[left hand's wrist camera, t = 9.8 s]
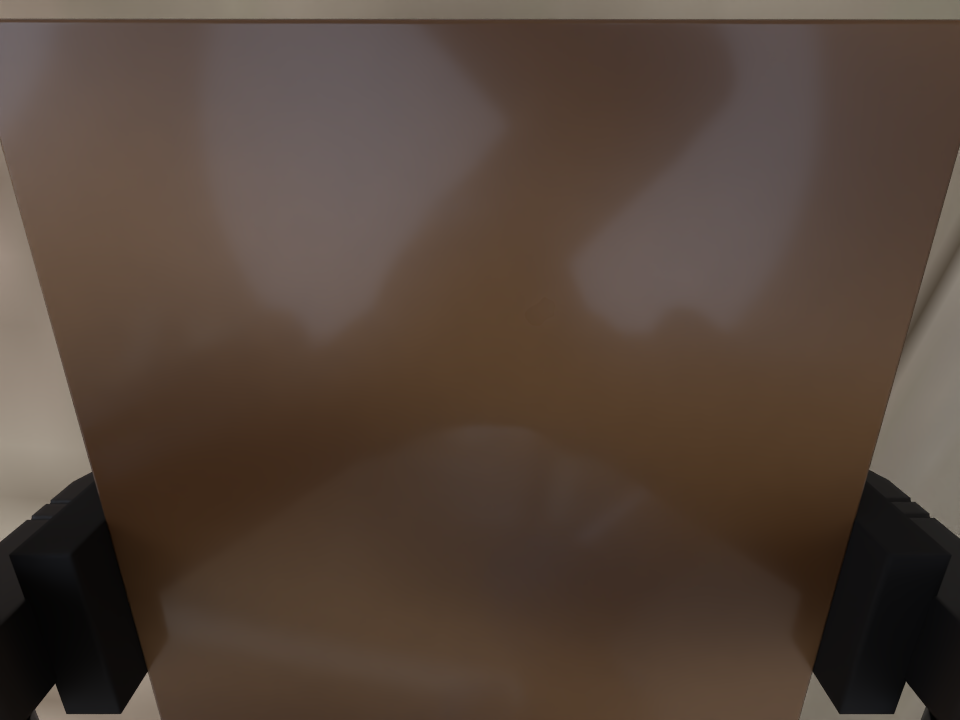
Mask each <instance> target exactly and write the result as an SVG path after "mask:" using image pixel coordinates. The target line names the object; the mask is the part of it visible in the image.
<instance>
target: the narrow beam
mask: <svg viewBox="0 0 960 720" xmlns="http://www.w3.org/2000/svg"><path fill="white" fill-rule="evenodd" d="M0 142H1V145H2V149H3V153H4V156H5V160H6V163H7V167H8V171H9V174H10V178H11V181H12V185H13V189H14V192H15V196H16V199H17V203H18V207H19V210H20V214H21V217H22V221H23V225H24V228H25V232H26V235H27V239H28V243H29V246H30V250H31V253H32V257H33V261H34V264H35V268H36V271H37V275H38V279H39V282H40V286H41V289H42V293H43V296H44V300H45V304H46V307H47V311H48V314H49V318H50V322H51V325H52V329H53V332H54V336H55V340H56V343H57V347H58V350H59V354H60V358H61V361H62V365H63V368H64V372H65V376H66V379H67V383H68V386H69V390H70V394H71V397H72V401H73V404H74V408H75V412H76V415H77V419H78V422H79V426H80V430H81V433H82V437H83V440H84V444H85V448H86V451H87V455H88V458H89V462H90V466H91V469H92V473H93V476H94V480H95V484H96V487H97V491H98V494H99V498H100V501H101V505H102V509H103V512H104V516H105V519H106V523H107V527H108V530H109V534H110V537H111V541H112V545H113V548H114V552H115V555H116V559H117V563H118V566H119V570H120V573H121V577H122V581H123V584H124V588H125V591H126V595H127V599H128V602H129V606H130V609H131V613H132V617H133V620H134V624H135V627H136V631H137V635H138V638H139V642H140V645H141V649H142V653H143V656H144V660H145V663H146V667H147V671H148V674H149V678H150V681H151V685H152V689H153V692H154V696H155V699H156V703H157V707H158V710H159V714H160V717H161V720H799V718H800V714H801V711H802V707H803V703H804V700H805V696H806V693H807V689H808V686H809V682H810V678H811V675H812V671H813V668H814V664H815V661H816V657H817V653H818V650H819V646H820V643H821V639H822V636H823V632H824V628H825V625H826V621H827V618H828V614H829V611H830V607H831V603H832V600H833V596H834V593H835V589H836V586H837V582H838V578H839V575H840V571H841V568H842V564H843V561H844V557H845V553H846V550H847V546H848V543H849V539H850V536H851V532H852V528H853V525H854V521H855V518H856V514H857V511H858V507H859V503H860V500H861V496H862V493H863V489H864V486H865V482H866V478H867V475H868V471H869V468H870V464H871V461H872V457H873V453H874V450H875V446H876V443H877V439H878V436H879V432H880V428H881V425H882V421H883V418H884V414H885V411H886V407H887V403H888V400H889V396H890V393H891V389H892V386H893V382H894V378H895V375H896V371H897V368H898V364H899V361H900V357H901V353H902V350H903V346H904V343H905V339H906V336H907V332H908V328H909V325H910V321H911V318H912V314H913V311H914V307H915V304H916V300H917V296H918V293H919V289H920V286H921V282H922V279H923V275H924V271H925V268H926V264H927V261H928V257H929V254H930V250H931V246H932V243H933V239H934V236H935V232H936V229H937V225H938V221H939V218H940V214H941V211H942V207H943V204H944V200H945V196H946V193H947V189H948V186H949V182H950V179H951V175H952V171H953V168H954V164H955V161H956V157H957V154H958V150H959V146H960V20H959V19H0Z"/></svg>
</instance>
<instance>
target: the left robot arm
mask: <svg viewBox="0 0 960 720" xmlns="http://www.w3.org/2000/svg"><path fill="white" fill-rule="evenodd" d="M147 672H148V671H147V667H146V663H145V660H144V656H143V653H142V649H141V645H140V642H139V638H138V635H137V631H136V627H135V624H134V620H133V617H132V613H131V609H130V606H129V602H128V599H127V595H126V591H125V588H124V584H123V581H122V577H121V573H120V570H119V566H118V563H117V559H116V555H115V552H114V548H113V545H112V541H111V537H110V534H109V530H108V527H107V523H106V519H105V516H104V512H103V509H102V505H101V501H100V498H99V494H98V491H97V487H96V484H95V480H94V476H93V473H92V472H91V473H89V474H87V475H85V476H83V477H81V478H79V479H78V480H76V481H74V482H72V483H71V484H70V485H69V486H67V487H66V488H65V489H64V490H63V491H61V492H60V493H59V494H58V495H57V496H55V497H54V498H53V499H52V500H51V503H50V504H46V505H44V506H43V507H42V508H41V509H40V510H38V511H37V512H36V513H35V514H34V515H32V519H31V520H26V521H25V522H24V523H23V524H21V525H20V526H19V527H18V528H17V529H15V530H14V531H13V532H12V533H11V534H9V535H8V536H7V537H6V538H5V539H3V540H2V541H1V542H0V720H39V718H38V716H37V713H36V711H35V708H36V707H37V706H38V705H39V703H40V702H41V701H42V700H43V698H44V697H45V696H46V694H47V693H48V692H49V691H50V689H51V688H52V687H53V686H54V684H56V686H57V689H58V692H59V695H60V697H61V700H62V703H63V706H64V708H65V711H66V714H121V713H122V711H123V710H124V708H125V707H126V705H127V703H128V702H129V700H130V699H131V697H132V696H133V694H134V692H135V691H136V689H137V688H138V686H139V684H140V683H141V681H142V680H143V678H144V677H145V675H146V673H147ZM813 673H814V674H815V676H816V677H817V679H818V681H819V682H820V684H821V685H822V687H823V689H824V690H825V692H826V693H827V695H828V696H829V698H830V700H831V701H832V703H833V704H834V706H835V708H836V709H837V711H838V712H839V714H894V713H895V710H896V707H897V704H898V702H899V699H900V696H901V693H902V691H903V688H904V685H905V682H907V683H908V684H909V686H910V687H911V688H912V689H913V691H914V692H915V693H916V694H917V696H918V697H919V698H920V699H921V701H922V702H923V703H924V705H925V706H926V708H925V711H924V713H923V716H922V718H921V720H960V539H959V538H958V537H957V536H956V535H955V534H953V533H952V532H951V531H950V530H949V529H947V528H946V527H945V526H944V525H942V524H941V523H940V522H939V521H938V520H936V519H935V518H930V516H929V513H928V512H927V511H925V510H924V509H923V508H922V507H921V506H919V505H918V504H917V503H916V502H911V498H910V497H908V496H907V495H906V494H905V493H903V492H902V491H901V490H900V489H899V488H897V487H896V486H895V485H894V484H893V483H891V482H890V481H889V480H887V479H885V478H883V477H882V476H880V475H878V474H876V473H874V472H872V471H870V470H869V471H868V475H867V478H866V482H865V486H864V489H863V493H862V496H861V500H860V503H859V507H858V511H857V514H856V518H855V521H854V525H853V528H852V532H851V536H850V539H849V543H848V546H847V550H846V553H845V557H844V561H843V564H842V568H841V571H840V575H839V578H838V582H837V586H836V589H835V593H834V596H833V600H832V603H831V607H830V611H829V614H828V618H827V621H826V625H825V628H824V632H823V636H822V639H821V643H820V646H819V650H818V653H817V657H816V661H815V664H814V668H813Z"/></svg>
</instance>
